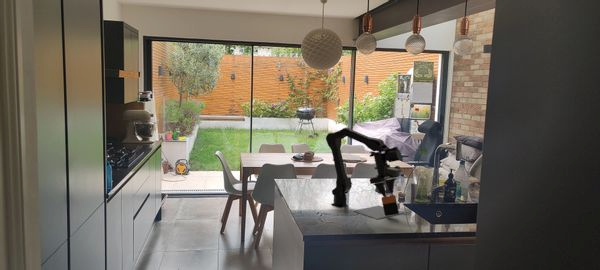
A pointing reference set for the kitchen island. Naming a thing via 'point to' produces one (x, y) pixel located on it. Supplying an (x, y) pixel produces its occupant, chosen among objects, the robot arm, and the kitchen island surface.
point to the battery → (390, 205)
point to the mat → (374, 212)
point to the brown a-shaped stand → (385, 188)
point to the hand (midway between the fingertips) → (388, 194)
